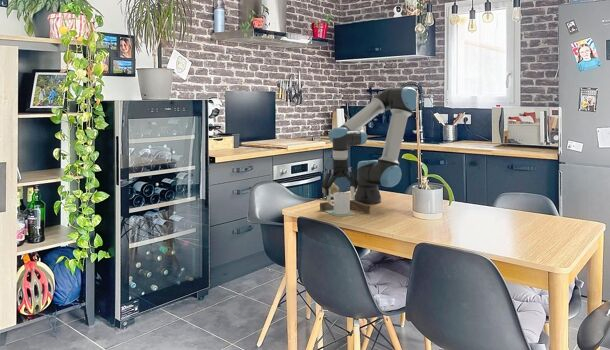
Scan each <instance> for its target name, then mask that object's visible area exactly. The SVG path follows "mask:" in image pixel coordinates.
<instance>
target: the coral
mask: <svg viewBox="0 0 610 350" xmlns="http://www.w3.org/2000/svg"><path fill="white" fill-rule="evenodd" d="M329 189H331V194H332V195H334V193H337V192H340V187H338V185H337V184H335V182H333V184H332V185H331V187H330V188H329ZM321 190H322V194H323V195H324V196H325V197H326V198H327V196H326V195H325V189H324V188H322V187H321ZM331 199H334V197H332V196H331Z"/></svg>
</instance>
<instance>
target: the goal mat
mask: <svg viewBox="0 0 610 350" xmlns="http://www.w3.org/2000/svg"><path fill="white" fill-rule="evenodd" d="M322 212H325V213H328V214H330V215H332V216H335V217H346V216H356V215H358V214H357V213H355V212H352V211H350V213H349V214H343V215H342V214H335V213H334V209H333V210H323V211H322Z"/></svg>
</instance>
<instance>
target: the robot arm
mask: <svg viewBox="0 0 610 350" xmlns="http://www.w3.org/2000/svg"><path fill="white" fill-rule="evenodd" d="M417 94H418V106H419V105H420V97H419V93H418V91H417V90H416V89H415V88H413V87H390V88H387V89H384V90H383V91H381V92H380V93H378V94H376V96H374V97H373V98H372V99H371V101H370V103H368V104H367V105H366V106H365V107H363V108H362V109H361V110H359V112H357V113H356V114H354V115H353V116H352V117H350V118H349V119H348V120H347V121H345V122H344V123H343V124H342V125H341V126H339V127H333V128H332V129H330V130H329V132H328V140H329V141H330V142H331V143H332V169H330V168H327V170H326V174H325V177H324V180H323V182H322V184H321V189H322V188H324V189H325V195H326V196H327V197H326V196H325V195H324V196H325V197H326V202H332V200H331V199H332V198H331V189H329V188H330V187H331V185H332V184H333V183H335V181H336V179H339V178H340V179H341V178H345V179H346V180H347V182H349V184H351V186H350V188H349V189H350V200H355V201H357V202H360V203H363V204H366V205H370V204H371V205H372V204H373V205H374V204H380V203H381V202H382V195H381V192H380V189H379V186H383V187H385V188H393V187H395V186H396V185H398V184H399V182H400V181H401V179H402V175H403V174H402V173H403V172H402V169H401V168H400V162H399V155H400V152H401V147H402V145H403V144H402V143H403V139H404V135H405V132H406V131H405V130H406V126H407V122H408V118H409V117H410V116H412V114H413V111H415V110H416V109H417V108H416V95H417ZM388 110H390V112H391V117H390V122H389V125H388V129H387V132H386V133H387V134H386V138H385V141H384V145H383V146H384V147H383V151H382V153H381V154H382V155H381V157H379V158H378V159H373V160H372V159H371V160H361V161H358V163H357V168H356V171H357V172H356V173H357V174H356V173H355V170H354V167H352V166H349V159H348V158H349V147H350V146H351V147H352V146H361V145H364V144H366V142H368V141H367V140H368V134H367V132H366V131H365V130H363V129H362V128H363V127H364V126H366V125H367V124H368V123H369V122H371V121H372V120H373V119H374V118H375V117H376V116H378V115H379V114H384V113H385V112H386V111H388ZM348 166H349V167H348ZM349 174H350V175H349Z"/></svg>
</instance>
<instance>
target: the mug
mask: <svg viewBox="0 0 610 350" xmlns="http://www.w3.org/2000/svg"><path fill="white" fill-rule="evenodd" d="M331 196H332V197H334V198H333V201H334V204H332V203H331V202H332V201H331V202H329V204H331V205H332V206H334V213H335V214H342V215H343V214H349V213H350V212H351V208H350V200H351V192H350V193H349V192H344V191H343V192H342V191H339V192H337V193H334V195H332V194H331Z"/></svg>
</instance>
